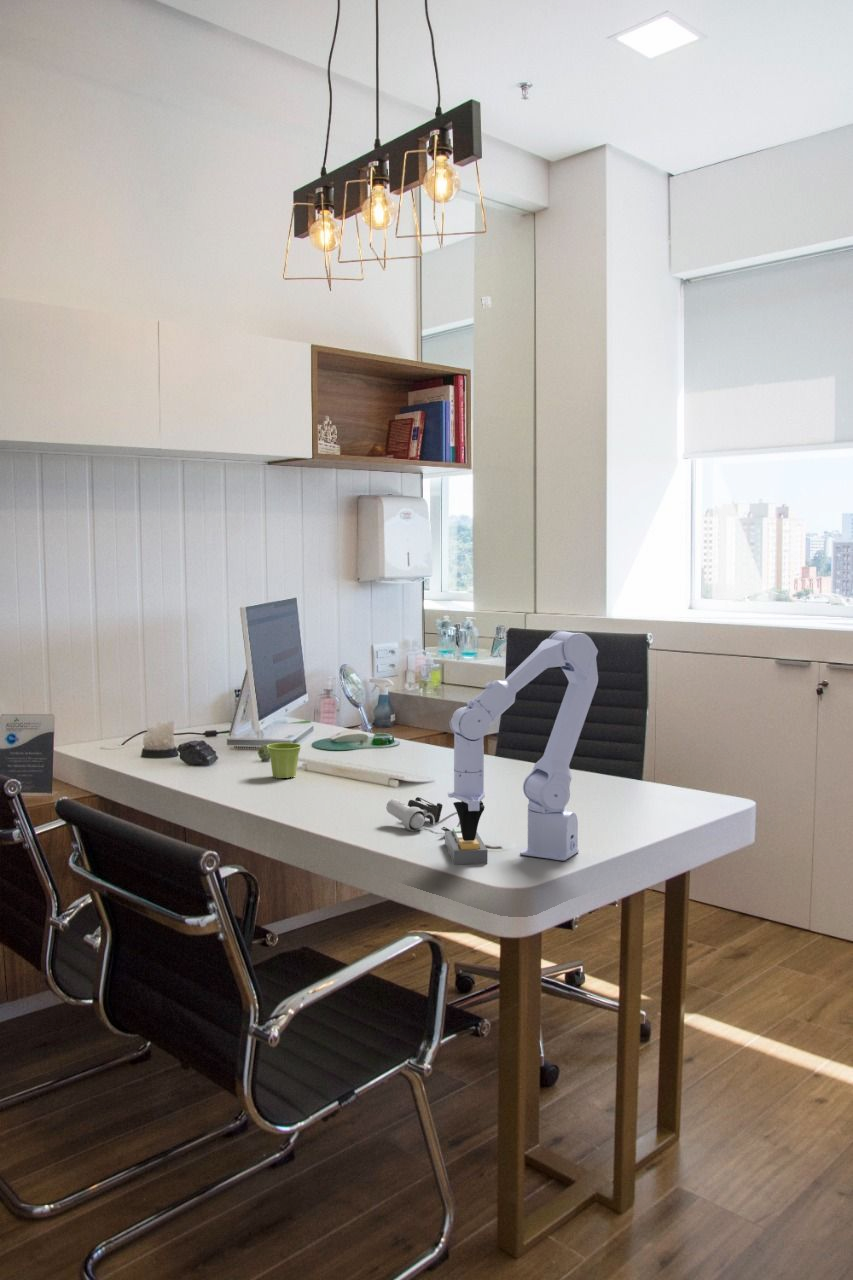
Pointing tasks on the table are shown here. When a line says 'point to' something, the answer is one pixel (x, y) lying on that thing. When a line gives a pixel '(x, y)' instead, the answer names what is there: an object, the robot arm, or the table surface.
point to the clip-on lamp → (417, 813)
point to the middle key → (458, 837)
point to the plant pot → (284, 759)
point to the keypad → (465, 851)
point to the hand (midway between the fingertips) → (468, 839)
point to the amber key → (468, 845)
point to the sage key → (456, 830)
